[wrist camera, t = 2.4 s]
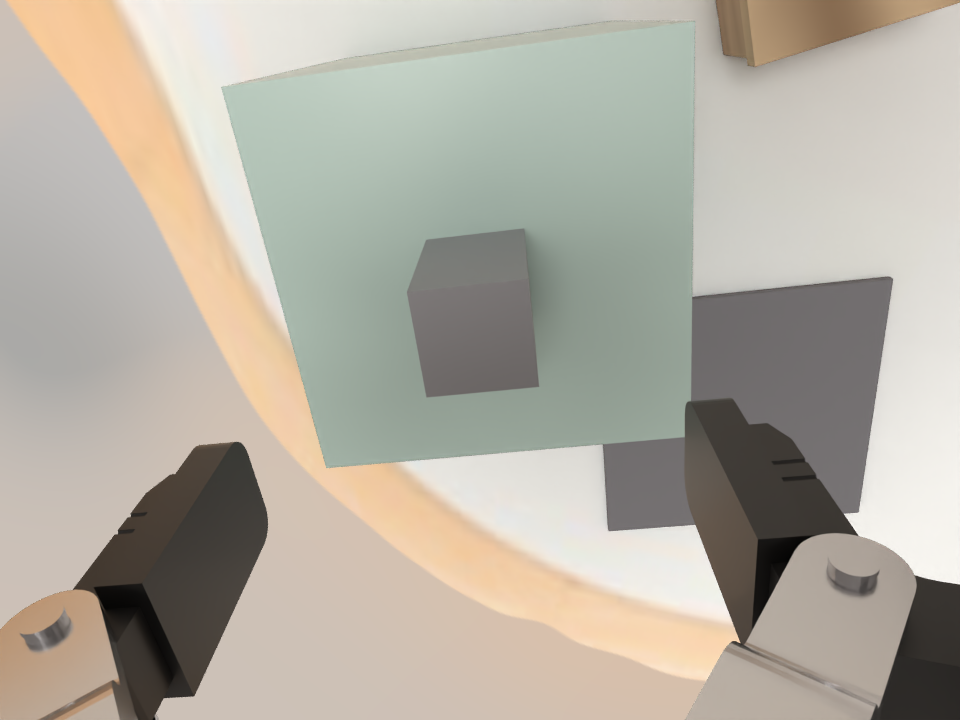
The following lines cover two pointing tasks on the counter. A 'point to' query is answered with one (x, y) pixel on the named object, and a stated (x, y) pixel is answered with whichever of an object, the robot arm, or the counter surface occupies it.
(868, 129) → the counter surface
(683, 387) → the cover
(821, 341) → the mat
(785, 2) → the cardboard box
